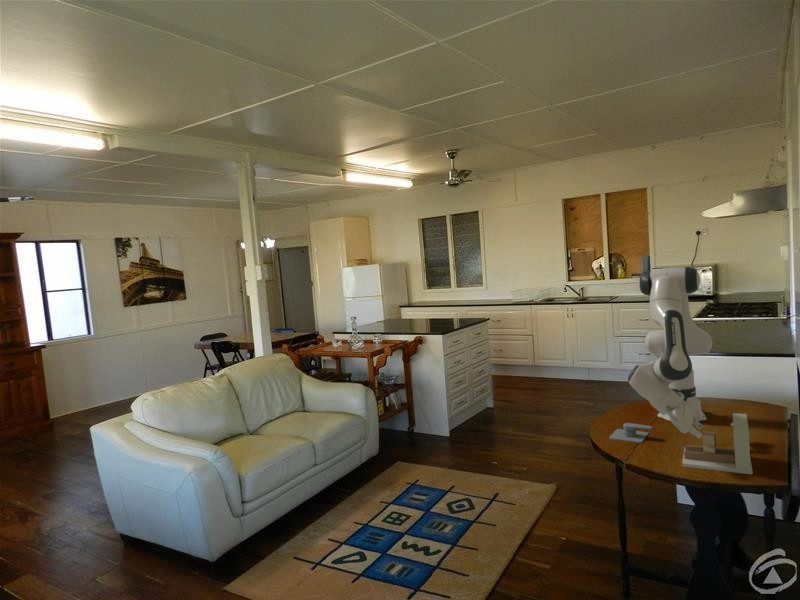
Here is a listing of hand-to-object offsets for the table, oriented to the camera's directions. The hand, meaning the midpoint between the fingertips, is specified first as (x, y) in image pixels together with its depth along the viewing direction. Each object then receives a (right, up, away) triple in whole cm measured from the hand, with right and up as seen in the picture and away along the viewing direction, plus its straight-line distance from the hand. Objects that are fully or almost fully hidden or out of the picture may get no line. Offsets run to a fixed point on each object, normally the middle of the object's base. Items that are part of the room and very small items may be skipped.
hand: (701, 432), depth 182 cm
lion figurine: (+21, -8, +9) cm, 24 cm away
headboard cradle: (+4, -10, -2) cm, 11 cm away
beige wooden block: (+3, -9, -1) cm, 9 cm away
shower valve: (-11, -10, +29) cm, 32 cm away
